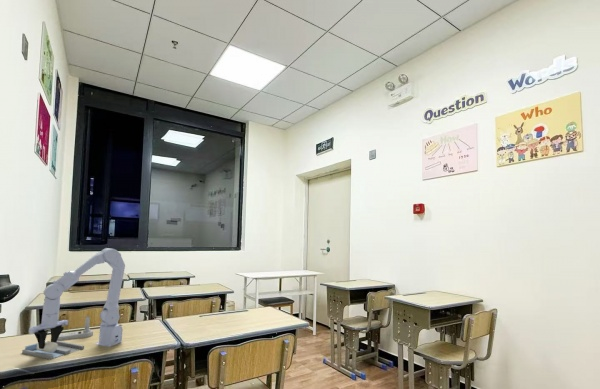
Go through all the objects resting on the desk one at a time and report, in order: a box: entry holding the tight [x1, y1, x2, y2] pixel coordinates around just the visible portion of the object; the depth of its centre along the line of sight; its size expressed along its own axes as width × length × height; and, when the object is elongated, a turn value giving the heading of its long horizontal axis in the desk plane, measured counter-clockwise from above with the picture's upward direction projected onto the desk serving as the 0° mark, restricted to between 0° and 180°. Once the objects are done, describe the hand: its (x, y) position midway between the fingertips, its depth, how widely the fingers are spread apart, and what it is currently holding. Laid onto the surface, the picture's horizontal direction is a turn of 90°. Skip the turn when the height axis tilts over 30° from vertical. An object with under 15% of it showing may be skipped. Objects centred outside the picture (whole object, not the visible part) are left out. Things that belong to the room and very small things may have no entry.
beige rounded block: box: [37, 340, 58, 353], centre depth 139 cm, size 7×4×4 cm, turn 69°
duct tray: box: [21, 340, 85, 360], centre depth 142 cm, size 18×14×3 cm
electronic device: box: [57, 316, 94, 341], centre depth 162 cm, size 5×10×15 cm
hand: (47, 346), depth 139 cm, fingers closed on beige rounded block, 4 cm apart
